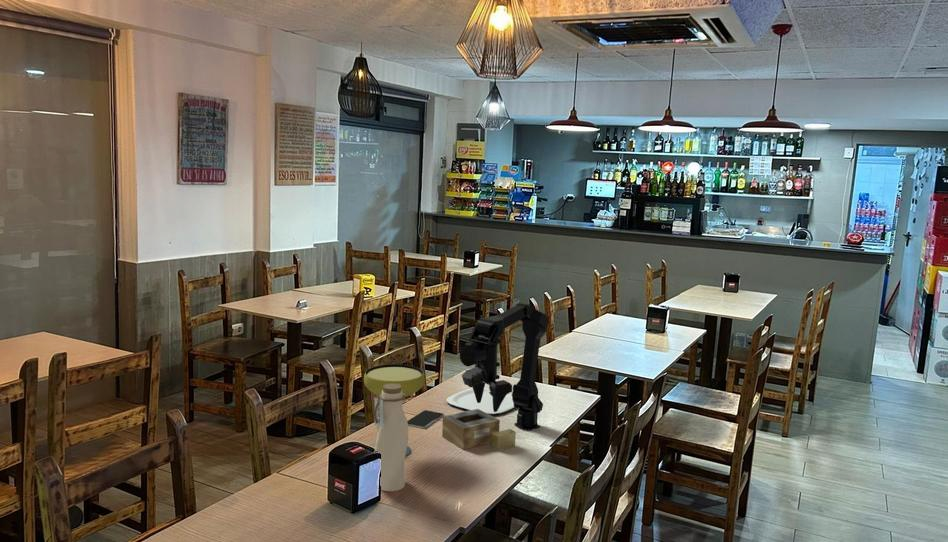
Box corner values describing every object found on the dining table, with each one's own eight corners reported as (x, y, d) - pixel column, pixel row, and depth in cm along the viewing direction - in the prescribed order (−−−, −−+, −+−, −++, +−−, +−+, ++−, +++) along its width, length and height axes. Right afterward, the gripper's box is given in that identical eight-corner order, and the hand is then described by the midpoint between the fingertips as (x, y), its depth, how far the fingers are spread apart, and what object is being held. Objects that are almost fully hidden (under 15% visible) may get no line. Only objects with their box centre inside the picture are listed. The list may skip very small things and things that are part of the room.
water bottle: (390, 498, 177) (391, 395, 173) (364, 488, 182) (365, 388, 178) (414, 483, 186) (415, 385, 182) (388, 475, 190) (389, 379, 186)
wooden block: (509, 443, 216) (509, 428, 215) (515, 447, 213) (515, 431, 212) (491, 448, 212) (492, 433, 211) (497, 451, 209) (497, 436, 208)
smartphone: (444, 413, 239) (424, 426, 225) (444, 416, 239) (424, 430, 225) (424, 409, 242) (403, 422, 228) (424, 413, 242) (403, 426, 229)
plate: (438, 404, 251) (438, 400, 250) (476, 388, 271) (477, 384, 271) (495, 420, 236) (495, 416, 236) (531, 402, 257) (531, 397, 257)
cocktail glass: (416, 437, 218) (418, 362, 214) (428, 460, 201) (430, 379, 197) (360, 442, 213) (360, 365, 209) (367, 466, 196) (368, 383, 192)
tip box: (477, 428, 227) (477, 408, 226) (499, 440, 217) (499, 419, 216) (442, 436, 219) (442, 416, 218) (463, 449, 209) (463, 428, 208)
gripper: (450, 355, 213) (449, 402, 215) (483, 371, 197) (482, 421, 200) (479, 350, 219) (478, 396, 221) (513, 365, 203) (512, 414, 206)
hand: (486, 407), depth 212 cm, fingers open, 9 cm apart
